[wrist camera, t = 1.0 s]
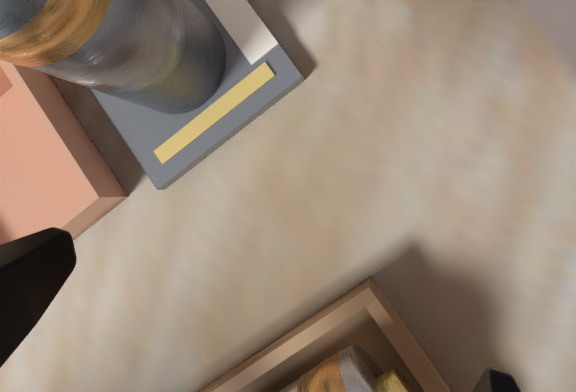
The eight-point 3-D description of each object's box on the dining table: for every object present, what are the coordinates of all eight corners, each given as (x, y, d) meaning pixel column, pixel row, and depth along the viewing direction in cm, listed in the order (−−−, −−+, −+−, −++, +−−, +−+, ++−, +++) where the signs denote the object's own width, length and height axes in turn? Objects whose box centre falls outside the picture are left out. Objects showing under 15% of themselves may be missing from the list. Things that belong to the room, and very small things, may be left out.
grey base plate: (164, 189, 24) (155, 189, 24) (72, 52, 25) (61, 47, 25) (305, 79, 23) (301, 75, 22) (201, -62, 24) (194, -72, 23)
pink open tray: (5, 293, 27) (-34, 303, 24) (-75, 159, 28) (-121, 156, 25) (127, 196, 25) (99, 197, 22) (37, 58, 26) (0, 45, 23)
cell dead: (164, 137, 24) (-99, 75, 11) (107, 53, 24) (-206, -99, 11) (248, 69, 23) (67, -85, 10) (187, -16, 23) (-58, -265, 10)
